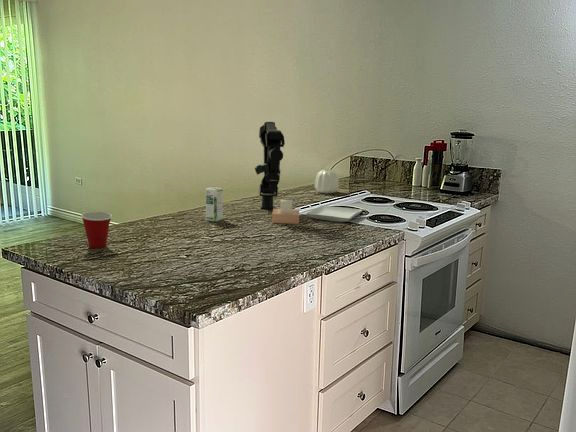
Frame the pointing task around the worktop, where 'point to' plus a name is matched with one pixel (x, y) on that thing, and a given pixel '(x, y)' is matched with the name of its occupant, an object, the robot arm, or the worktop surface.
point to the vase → (326, 181)
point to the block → (286, 206)
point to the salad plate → (333, 213)
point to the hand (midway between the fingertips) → (272, 192)
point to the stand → (285, 216)
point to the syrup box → (214, 204)
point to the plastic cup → (96, 228)
